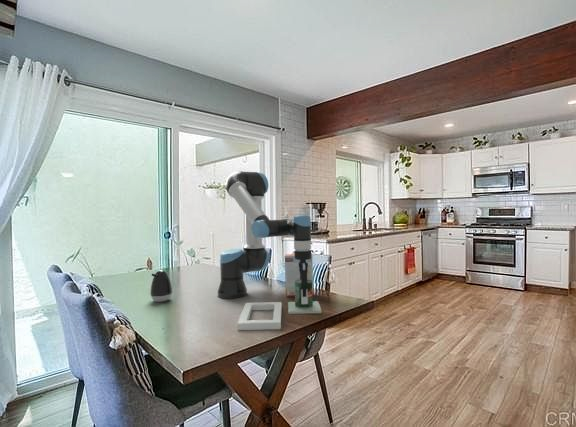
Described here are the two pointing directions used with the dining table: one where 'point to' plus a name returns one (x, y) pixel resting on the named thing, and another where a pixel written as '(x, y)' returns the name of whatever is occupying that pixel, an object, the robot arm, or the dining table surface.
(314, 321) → the dining table surface
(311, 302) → the canned tomato
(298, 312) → the tile
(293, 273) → the cracker box
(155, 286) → the pump dispenser
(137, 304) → the dining table surface
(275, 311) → the frame
